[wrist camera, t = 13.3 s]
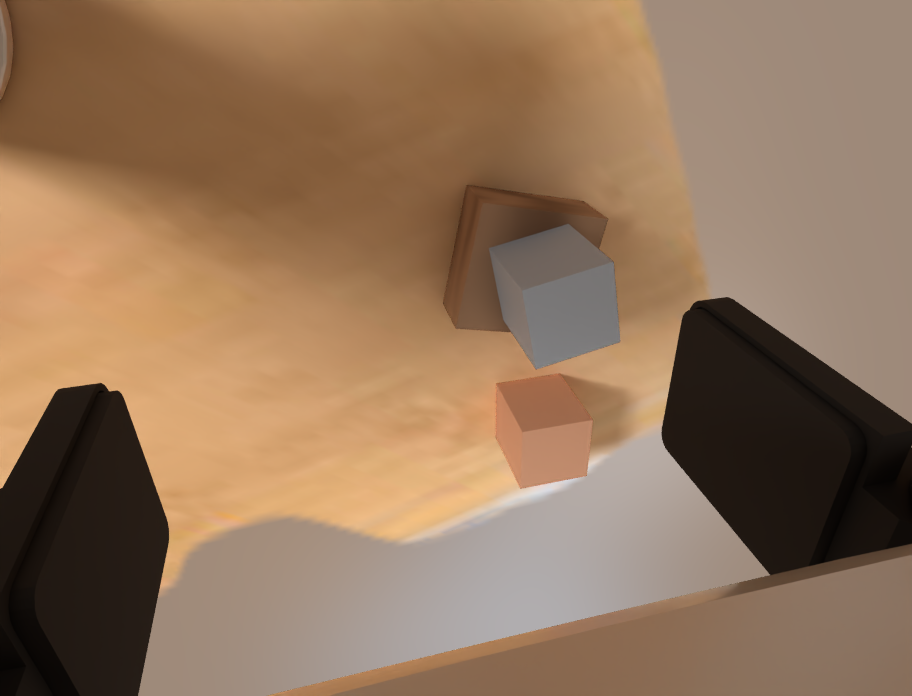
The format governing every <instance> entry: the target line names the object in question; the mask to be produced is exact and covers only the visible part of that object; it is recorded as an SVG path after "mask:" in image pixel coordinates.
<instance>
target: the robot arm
mask: <svg viewBox="0 0 912 696" xmlns="http://www.w3.org/2000/svg"><path fill="white" fill-rule="evenodd" d="M13 49H14V48H13V38H12V28H11V19H10V16H9V13H8V9H7V6H6V2H5V0H0V100H1V98H2V97H3V94H4V91H5V89H6V86H7V83H8V80H9V78H10V75H11V67H12V58H13ZM662 440H663V443H664V446H665V448H666V449H667V450H668V452H669V453H670V455H671V456H672V457H673V458H674V459H675V461H676V462H677V463H678V464H679V465H680V467H681V468H682V469H683V470H684V471H685V473H686V474H687V475H688V476H689V477H690V479H691V480H692V481H693V482H694V483H695V485H696V486H697V487H698V488H699V489H700V491H701V492H702V493H703V494H704V495H705V497H706V498H707V499H708V500H709V502H710V503H711V504H712V505H713V506H714V507H715V509H716V510H717V511H718V512H719V514H720V515H721V516H722V517H723V518H724V520H725V521H726V522H727V523H728V524H729V526H730V527H731V528H732V529H733V531H734V532H735V533H736V534H737V535H738V537H739V538H740V539H741V540H742V541H743V543H744V544H745V545H746V546H747V547H748V548H749V550H750V551H751V552H752V553H753V555H754V556H755V557H756V558H757V559H758V561H759V562H760V563H761V564H762V566H764V568H765V569H766V570H767V571H768V573H769V574H770V576H765V577H761V578H756V579H752V580H748V581H744V582H739V583H735V584H730V585H727V586H722V587H718V588H713V589H709V590H705V591H700V592H696V593H692V594H688V595H683V596H679V597H675V598H670V599H666V600H662V601H658V602H654V603H649V604H646V605H641V606H637V607H632V608H628V609H624V610H620V611H616V612H612V613H607V614H603V615H599V616H594V617H590V618H586V619H582V620H577V621H574V622H569V623H565V624H561V625H557V626H552V627H548V628H544V629H540V630H536V631H532V632H528V633H523V634H519V635H515V636H510V637H506V638H502V639H498V640H494V641H489V642H485V643H481V644H477V645H473V646H469V647H464V648H460V649H456V650H452V651H448V652H444V653H440V654H436V655H432V656H427V657H424V658H420V659H416V660H412V661H407V662H403V663H399V664H395V665H391V666H387V667H383V668H379V669H374V670H370V671H366V672H362V673H358V674H354V675H349V676H345V677H341V678H337V679H333V680H329V681H325V682H321V683H317V684H313V685H309V686H305V687H300V688H296V689H292V690H288V691H284V692H280V693H276V694H272V695H268V696H912V448H911V446H912V424H911V423H910V422H908V421H907V420H906V419H904V418H902V417H901V416H900V415H898V414H897V413H895V412H894V411H893V410H891V409H890V408H888V407H887V406H885V405H884V404H883V403H881V402H880V401H878V400H877V399H875V398H874V397H873V396H871V395H870V394H868V393H867V392H865V391H864V390H862V389H861V388H860V387H858V386H857V385H855V384H854V383H852V382H851V381H849V380H848V379H847V378H845V377H844V376H842V375H841V374H839V373H838V372H837V371H835V370H834V369H832V368H831V367H829V366H828V365H827V364H825V363H824V362H822V361H821V360H819V359H818V358H816V357H815V356H814V355H812V354H811V353H809V352H808V351H806V350H805V349H804V348H802V347H801V346H799V345H798V344H796V343H795V342H794V341H792V340H791V339H789V338H788V337H786V336H785V335H783V334H782V333H780V332H779V331H778V330H776V329H775V328H773V327H772V326H771V325H769V324H768V323H766V322H765V321H763V320H762V319H760V318H759V317H758V316H756V315H755V314H753V313H752V312H750V311H749V310H748V309H746V308H745V307H743V306H742V305H740V304H739V303H738V302H736V301H735V300H733V299H731V298H728V297H725V298H717V299H710V300H702V301H697V302H695V303H694V304H693V305H692V307H691V308H690V310H688V311H687V312H685V314H684V315H683V318H682V323H681V328H680V333H679V339H678V344H677V350H676V355H675V361H674V366H673V371H672V377H671V382H670V388H669V393H668V399H667V404H666V409H665V415H664V420H663V426H662ZM168 543H169V528H168V522H167V519H166V516H165V513H164V510H163V507H162V504H161V502H160V499H159V496H158V493H157V490H156V487H155V485H154V482H153V479H152V476H151V473H150V471H149V468H148V465H147V462H146V459H145V457H144V454H143V451H142V448H141V445H140V442H139V440H138V437H137V434H136V431H135V428H134V426H133V423H132V420H131V417H130V414H129V412H128V409H127V406H126V403H125V400H124V398H123V396H122V394H121V393H120V392H119V391H110V392H109V391H108V389H107V388H106V386H105V385H104V384H102V383H98V384H91V385H84V386H76V387H69V388H62V389H58V390H57V391H56V393H55V394H54V396H53V398H52V399H51V401H50V403H49V405H48V407H47V408H46V410H45V412H44V414H43V416H42V417H41V419H40V421H39V423H38V425H37V427H36V428H35V430H34V432H33V434H32V436H31V437H30V439H29V441H28V443H27V445H26V446H25V448H24V450H23V452H22V454H21V455H20V457H19V459H18V461H17V463H16V465H15V466H14V468H13V470H12V472H11V474H10V475H9V477H8V479H7V481H6V483H5V484H4V486H3V488H1V489H0V696H138V693H139V688H140V683H141V677H142V673H143V668H144V663H145V658H146V652H147V648H148V643H149V638H150V633H151V628H152V623H153V618H154V613H155V608H156V603H157V598H158V593H159V588H160V583H161V578H162V573H163V568H164V563H165V558H166V553H167V548H168Z"/></svg>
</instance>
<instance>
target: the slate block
mask: <svg viewBox="0 0 912 696" xmlns="http://www.w3.org/2000/svg"><path fill="white" fill-rule="evenodd" d="M489 251H490V256H491V261H492V266H493V271H494V276H495V281H496V286H497V291H498V296H499V301H500V306H501V311H502V316H503V320H504V322H505V323H506V325H507V326H508V328H509V329H510V331H511V332H512V334H513V335H514V337H515V338H516V340H517V341H518V343H519V344H520V346H521V347H522V349H523V351H524V352H525V354H526V355H527V357H528V358H529V360H530V361H531V363H532V364H533V366H534V367H535V369H539V368H542V367H545V366H548V365H551V364H554V363H557V362H560V361H564V360H567V359H570V358H573V357H576V356H579V355H582V354H585V353H588V352H591V351H594V350H597V349H600V348H603V347H606V346H609V345H613V344H616V343H619V342H620V331H619V320H618V308H617V296H616V284H615V272H614V262H613V261H612V260H611V259H610V258H609V257H607V256H606V255H605V254H604V253H603V252H601V251H600V250H599V249H598V248H597V247H595V246H594V245H593V244H592V243H591V242H590V241H588V240H587V239H586V238H585V237H584V236H582V235H581V234H580V233H579V232H578V231H576V230H575V229H574V228H573V227H572V226H570V225H569V224H566V225H563V226H560V227H556V228H553V229H550V230H547V231H543V232H540V233H537V234H533V235H530V236H527V237H524V238H520V239H517V240H514V241H511V242H507V243H504V244H501V245H497V246H494V247H491V248H489Z"/></svg>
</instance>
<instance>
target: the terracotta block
mask: <svg viewBox="0 0 912 696" xmlns="http://www.w3.org/2000/svg"><path fill="white" fill-rule="evenodd" d="M592 424H593V419H592V418H591V416H590V415H589V414H588V412H587V411H586V409H585V408H584V407H583V405H582V404H581V402H580V401H579V400H578V398H577V397H576V396H575V394H574V393H573V391H572V390H571V389H570V387H569V386H568V384H567V383H566V382H565V380H564V379H563V377H562V376H561V375H560V374H554V375H548V376H541V377H535V378H529V379H522V380H516V381H509V382H503V383H497V384H496V439H497V441H498V443H499V445H500V447H501V449H502V451H503V453H504V455H505V457H506V460H507V462H508V464H509V466H510V468H511V470H512V472H513V474H514V476H515V478H516V481H517V483H518V485H519V487H520V489H521V488H526V487H531V486H537V485H542V484H547V483H552V482H557V481H563V480H568V479H573V478H578V477H583V476H587V469H588V460H589V451H590V442H591V433H592Z"/></svg>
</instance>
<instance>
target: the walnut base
mask: <svg viewBox="0 0 912 696" xmlns="http://www.w3.org/2000/svg"><path fill="white" fill-rule="evenodd" d="M607 221H608V219H607V218H606V217H604V216H603V215H602V214H600V213H599V212H598V211H596V210H595V209H593V208H592V207H591V206H589V205H588V204H586V203H585V202H584V201H578V200H571V199H564V198H556V197H549V196H542V195H534V194H527V193H520V192H513V191H505V190H498V189H491V188H484V187H476V186H469V185H467V186H466V191H465V196H464V201H463V206H462V211H461V216H460V221H459V226H458V231H457V236H456V241H455V246H454V251H453V256H452V261H451V266H450V271H449V276H448V281H447V286H446V291H445V296H444V301H443V304H444V306H445V308H446V310H447V312H448V314H449V316H450V318H451V320H452V322H453V324H454V326H455V328H456V329H471V330H486V331H501V332H511V331H510V329H509V328H508V326H507V325H506V323H505V322H504V320H503V316H502V311H501V306H500V301H499V296H498V291H497V286H496V281H495V276H494V271H493V266H492V261H491V256H490V251H489V248H491V247H494V246H497V245H501V244H504V243H507V242H511V241H514V240H517V239H520V238H524V237H527V236H530V235H533V234H537V233H540V232H543V231H547V230H550V229H553V228H556V227H560V226H563V225H566V224H569V225H570V226H572V227H573V228H574V229H575V230H576V231H578V232H579V233H580V234H581V235H582V236H584V237H585V238H586V239H587V240H588V241H590V242H591V243H592V244H593V245H594V246H595V247H597V248H598V249H599V247H600V243H601V240H602V237H603V234H604V231H605V227H606V224H607Z"/></svg>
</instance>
